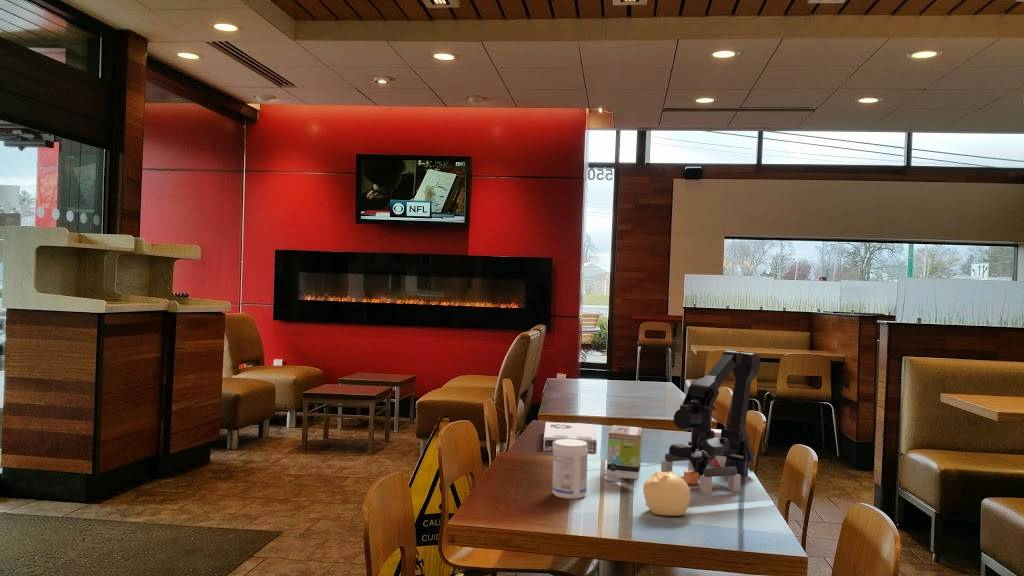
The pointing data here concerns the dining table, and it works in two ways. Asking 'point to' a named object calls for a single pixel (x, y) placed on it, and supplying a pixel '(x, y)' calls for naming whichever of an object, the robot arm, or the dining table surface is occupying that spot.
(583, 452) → the supplement tub
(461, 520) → the dining table surface
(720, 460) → the ink box
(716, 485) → the panel
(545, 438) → the flat white box
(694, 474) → the block
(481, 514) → the dining table surface
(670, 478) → the tan rounded lump
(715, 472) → the grey bar with posts
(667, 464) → the grey u-shaped handle
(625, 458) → the tea box
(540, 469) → the dining table surface
